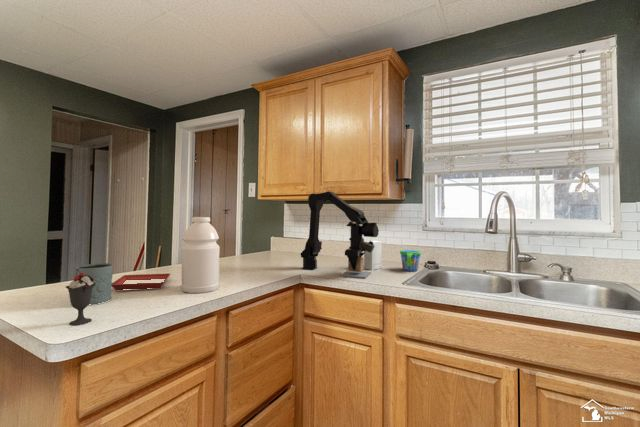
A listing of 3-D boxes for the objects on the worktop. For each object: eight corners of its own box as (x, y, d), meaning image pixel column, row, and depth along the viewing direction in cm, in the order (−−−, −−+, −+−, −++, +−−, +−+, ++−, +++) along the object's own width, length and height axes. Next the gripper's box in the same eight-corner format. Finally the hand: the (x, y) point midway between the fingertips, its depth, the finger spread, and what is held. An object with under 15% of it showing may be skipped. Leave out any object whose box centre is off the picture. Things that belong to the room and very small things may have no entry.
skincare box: (373, 267, 173) (374, 240, 172) (382, 268, 168) (382, 241, 168) (363, 268, 167) (363, 241, 167) (371, 270, 163) (372, 242, 162)
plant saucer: (170, 280, 138) (170, 272, 138) (163, 290, 120) (163, 281, 120) (123, 282, 132) (123, 274, 132) (109, 293, 115) (109, 284, 115)
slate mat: (340, 276, 147) (340, 274, 147) (347, 271, 158) (347, 270, 158) (365, 278, 143) (365, 277, 143) (371, 273, 154) (371, 272, 154)
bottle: (202, 295, 113) (202, 217, 112) (172, 291, 118) (173, 217, 117) (226, 286, 126) (227, 217, 126) (199, 283, 131) (199, 216, 130)
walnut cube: (348, 271, 149) (348, 258, 149) (351, 268, 154) (351, 256, 154) (360, 272, 146) (360, 259, 146) (363, 269, 152) (363, 257, 152)
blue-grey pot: (106, 304, 100) (106, 267, 100) (69, 307, 98) (69, 269, 97) (117, 296, 110) (117, 262, 110) (83, 298, 107) (83, 263, 107)
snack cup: (403, 267, 174) (403, 248, 174) (423, 268, 169) (423, 250, 169) (396, 271, 160) (396, 252, 160) (417, 274, 155) (418, 253, 155)
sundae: (67, 328, 80) (68, 270, 80) (62, 322, 85) (62, 267, 85) (98, 322, 85) (98, 267, 85) (92, 316, 90) (92, 264, 90)
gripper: (368, 238, 139) (368, 273, 139) (376, 235, 156) (376, 266, 156) (344, 237, 143) (344, 271, 143) (355, 234, 160) (354, 264, 160)
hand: (355, 268), depth 150 cm, fingers closed on walnut cube, 6 cm apart
